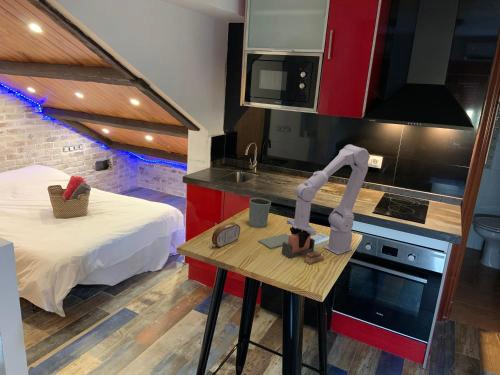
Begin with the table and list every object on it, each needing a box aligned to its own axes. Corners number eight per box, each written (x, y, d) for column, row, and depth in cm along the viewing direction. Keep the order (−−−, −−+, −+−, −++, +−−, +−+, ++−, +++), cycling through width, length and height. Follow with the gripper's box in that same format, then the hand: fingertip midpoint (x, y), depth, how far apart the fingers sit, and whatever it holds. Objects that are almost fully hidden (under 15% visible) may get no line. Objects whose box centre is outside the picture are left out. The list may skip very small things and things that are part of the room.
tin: (235, 237, 161) (236, 219, 158) (240, 240, 159) (242, 221, 157) (210, 247, 149) (211, 228, 147) (216, 250, 147) (217, 230, 145)
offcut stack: (317, 257, 148) (318, 249, 147) (323, 260, 146) (324, 252, 145) (303, 262, 143) (304, 253, 142) (309, 265, 141) (310, 257, 140)
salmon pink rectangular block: (304, 248, 155) (306, 230, 153) (308, 250, 153) (310, 232, 151) (286, 253, 149) (288, 235, 147) (291, 256, 147) (293, 237, 145)
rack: (305, 246, 157) (306, 235, 155) (313, 251, 153) (315, 240, 152) (281, 253, 149) (282, 242, 147) (289, 258, 145) (291, 246, 144)
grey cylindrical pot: (245, 220, 181) (247, 197, 178) (265, 220, 184) (267, 197, 181) (250, 228, 172) (252, 204, 169) (271, 228, 174) (273, 204, 171)
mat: (285, 234, 168) (285, 233, 168) (298, 241, 162) (298, 240, 161) (257, 241, 158) (257, 240, 158) (270, 249, 152) (270, 247, 152)
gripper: (282, 210, 150) (279, 241, 153) (308, 221, 139) (304, 254, 142) (295, 207, 154) (291, 237, 157) (321, 218, 143) (317, 251, 147)
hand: (298, 245), depth 150 cm, fingers closed on salmon pink rectangular block, 2 cm apart
